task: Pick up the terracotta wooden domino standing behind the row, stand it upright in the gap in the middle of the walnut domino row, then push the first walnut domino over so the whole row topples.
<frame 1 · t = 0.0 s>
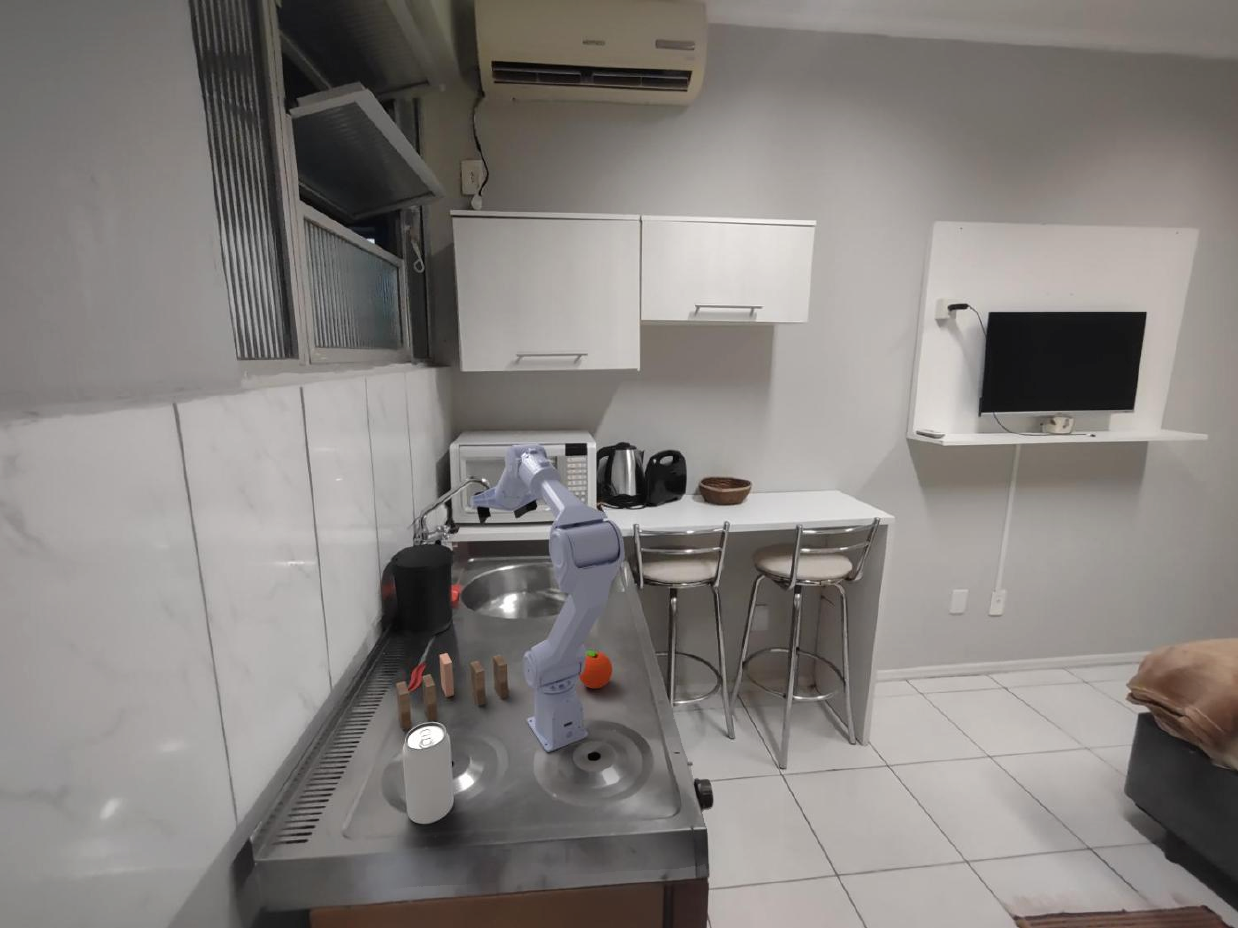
hand: (498, 516, 113), 32 cm above the counter, tool tilted 50°, fingers open, 7 cm apart
domino 4: (405, 722, 97), on the counter
clementine: (593, 685, 109), on the counter
cayenne pepper: (416, 680, 111), on the counter
domino 1: (501, 692, 106), on the counter
domino 2: (478, 699, 104), on the counter
can: (431, 808, 78), on the counter
domino 3: (430, 714, 99), on the counter
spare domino: (447, 690, 106), on the counter
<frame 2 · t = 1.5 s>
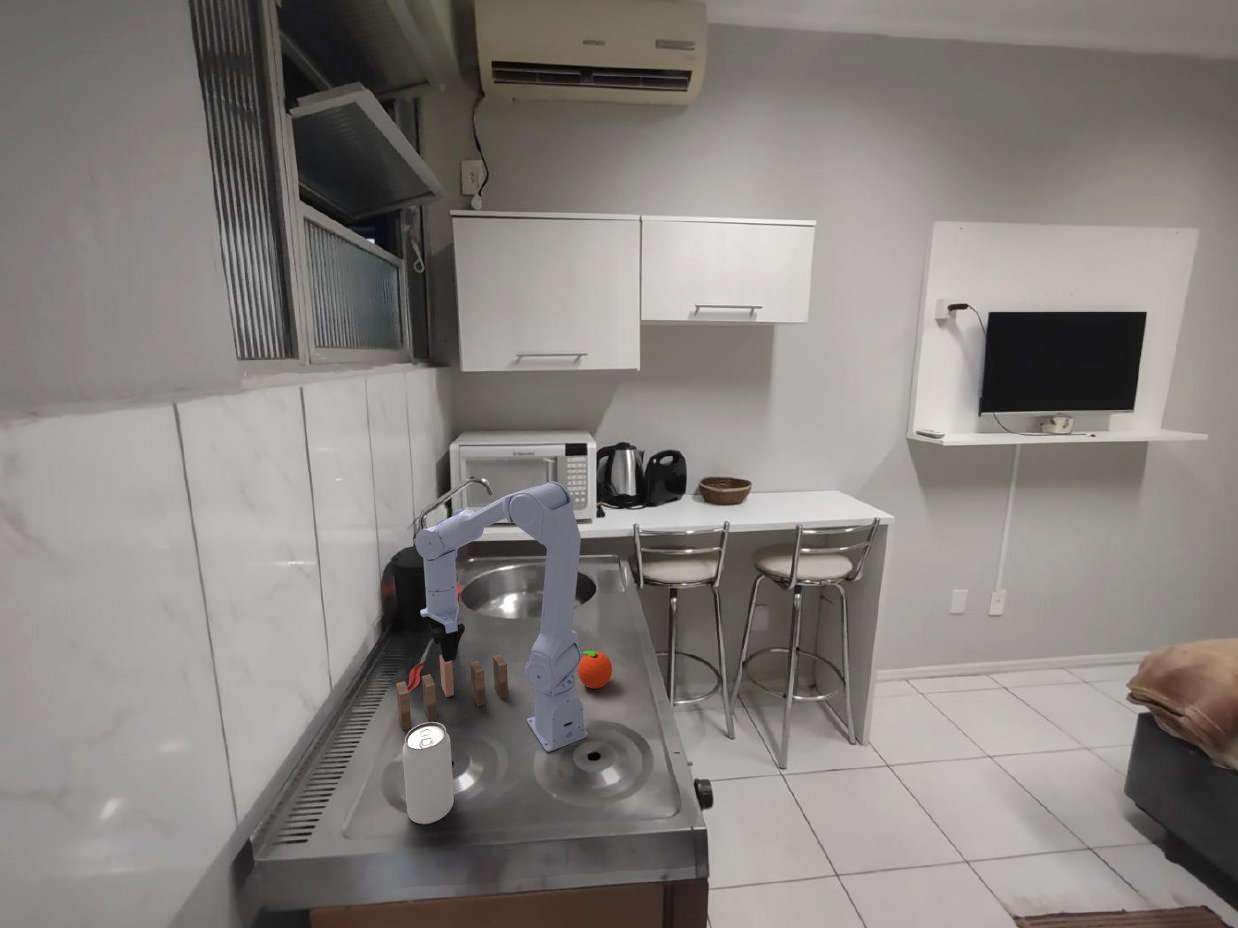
hand: (445, 650, 105), 9 cm above the counter, tool pointing down, fingers open, 7 cm apart
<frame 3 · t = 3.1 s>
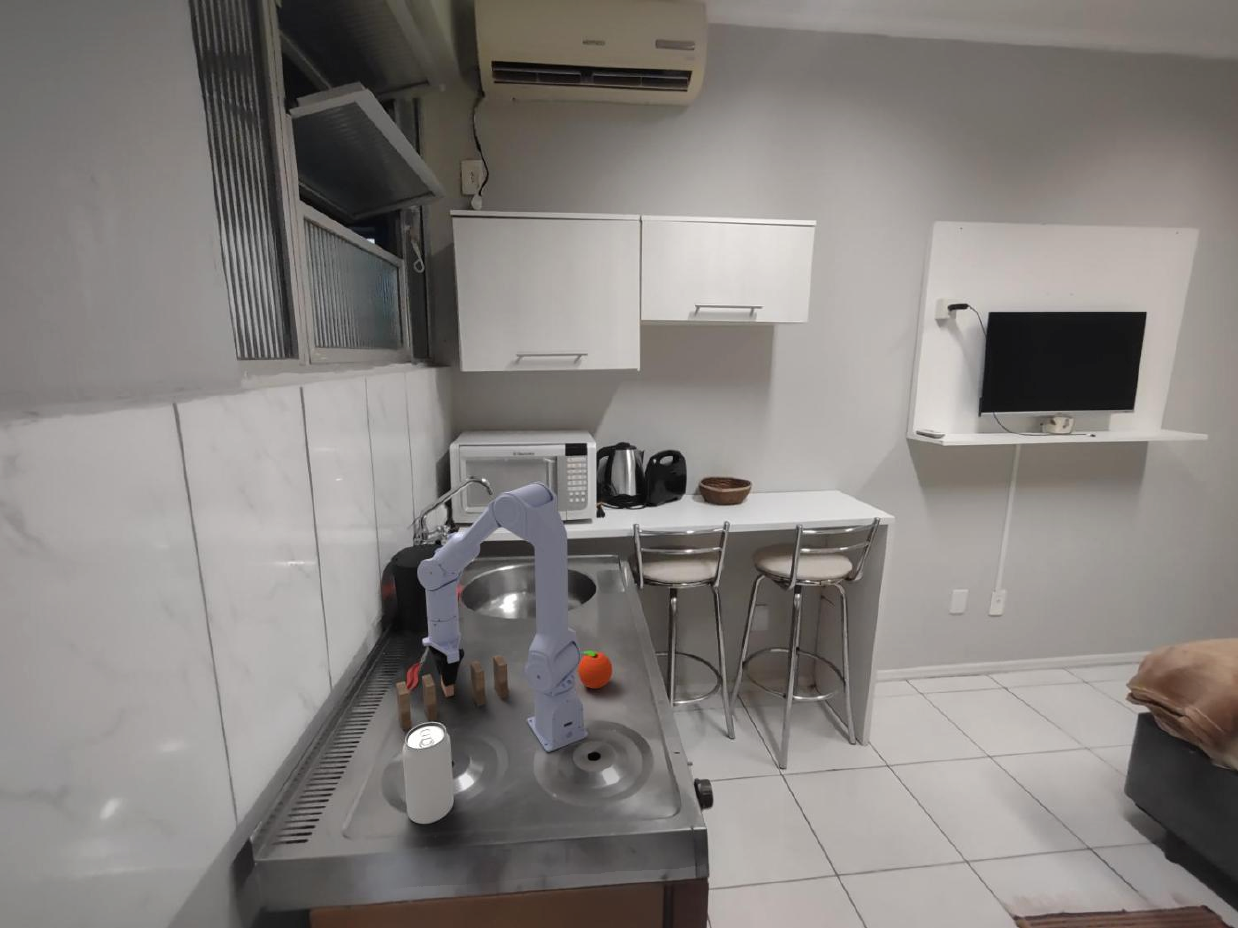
hand: (446, 678, 106), 3 cm above the counter, tool pointing down, fingers closed on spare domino, 4 cm apart
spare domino: (447, 690, 106), on the counter, touching gripper
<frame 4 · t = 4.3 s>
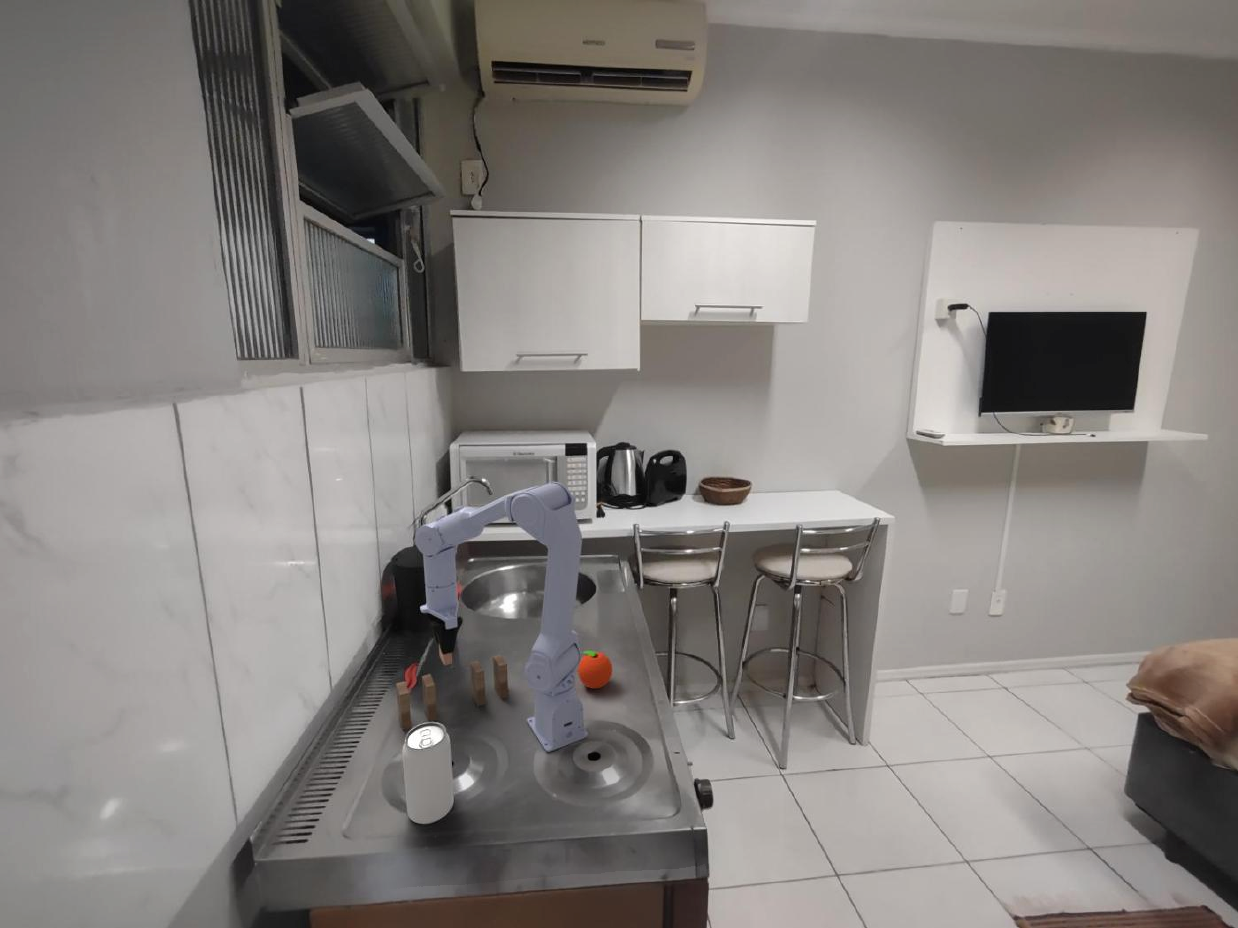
hand: (445, 647, 105), 9 cm above the counter, tool pointing down, fingers closed on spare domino, 4 cm apart
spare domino: (445, 659, 105), point 7 cm above the counter, touching gripper
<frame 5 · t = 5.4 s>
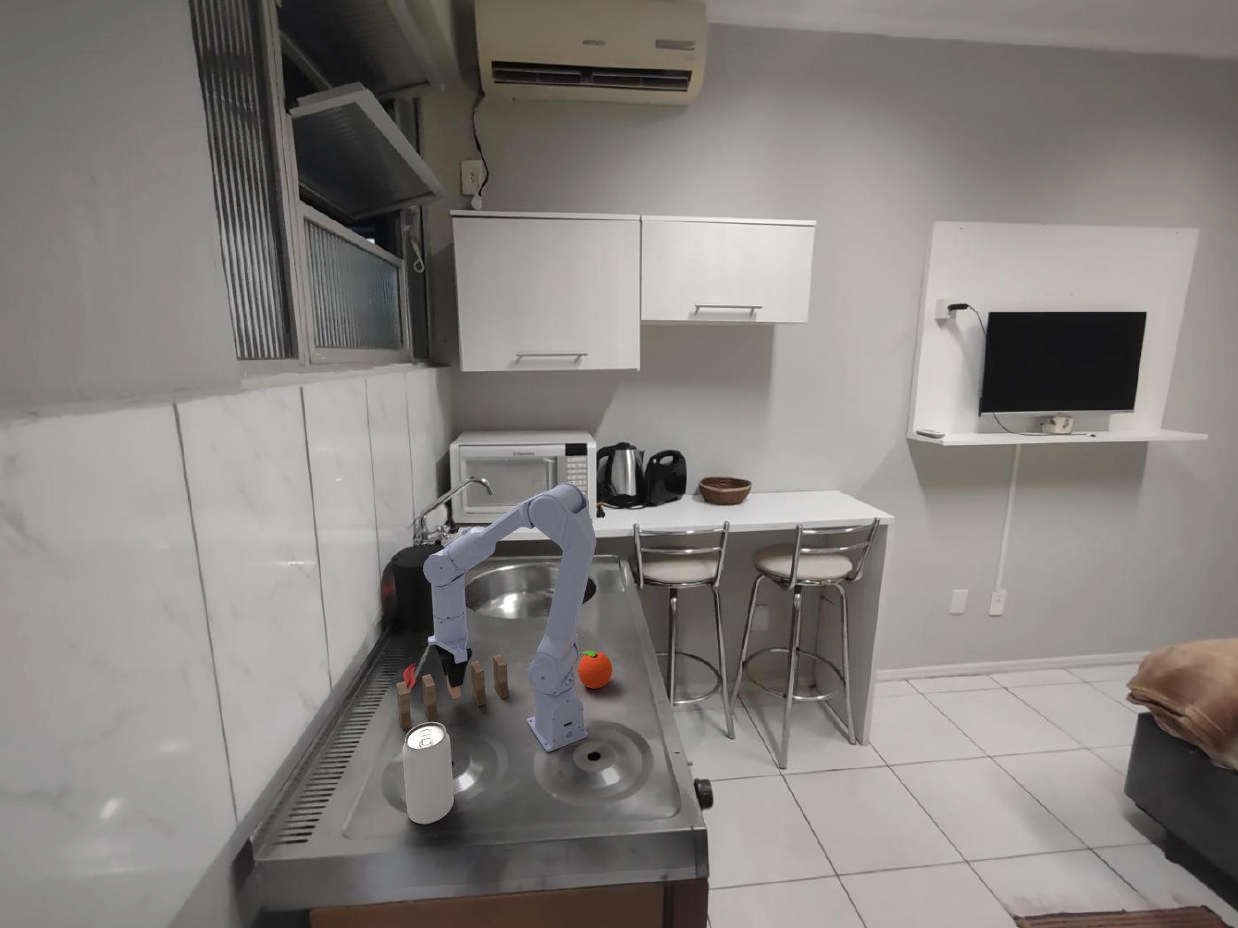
hand: (453, 679, 100), 6 cm above the counter, tool pointing down, fingers closed on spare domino, 4 cm apart
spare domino: (454, 692, 101), point 3 cm above the counter, touching gripper
when the fingers open (3 cm above the counter, at t = 6.3 s): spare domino stays where it is, on the counter.
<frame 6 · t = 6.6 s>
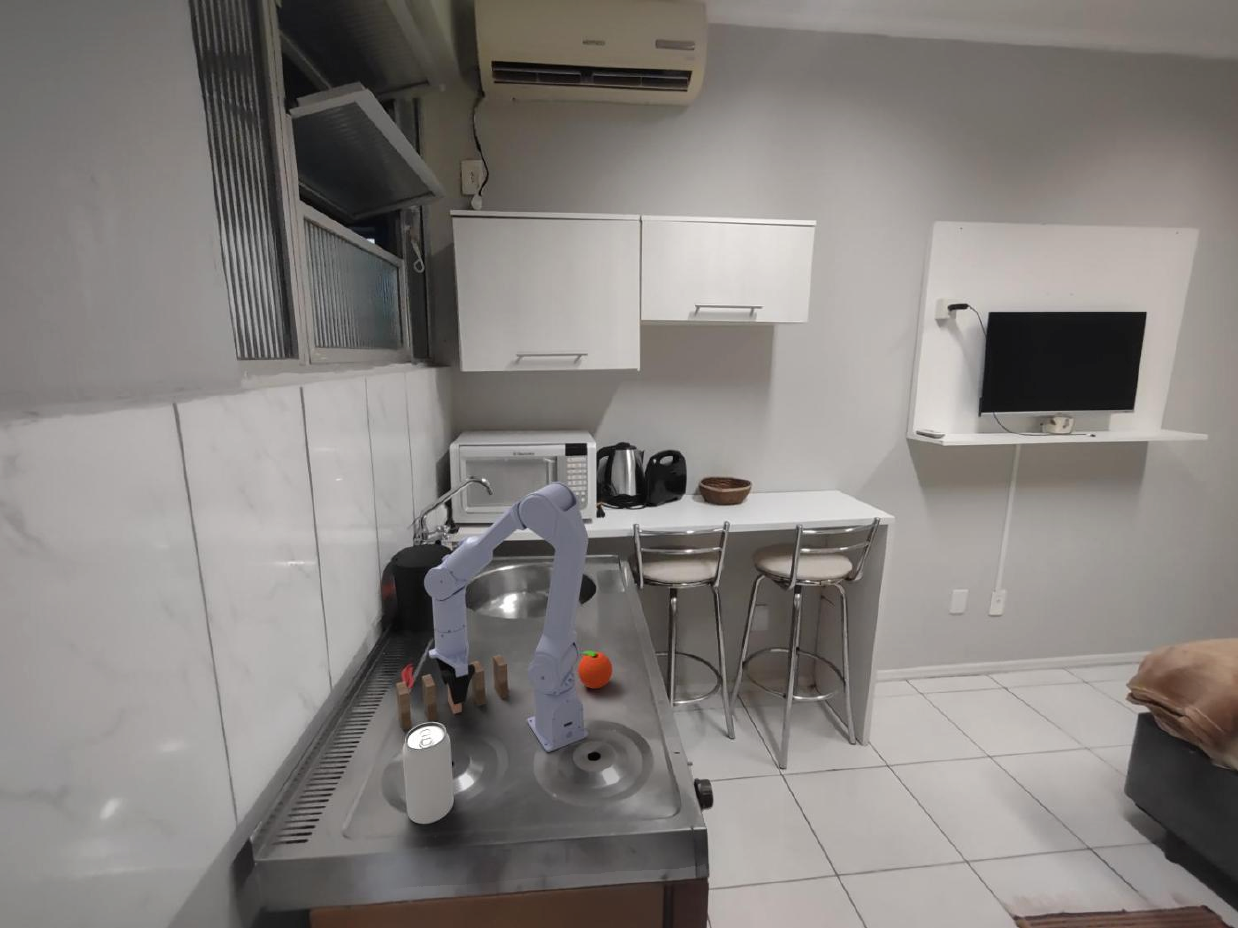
hand: (454, 691, 101), 3 cm above the counter, tool pointing down, fingers open, 7 cm apart
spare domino: (455, 706, 101), on the counter
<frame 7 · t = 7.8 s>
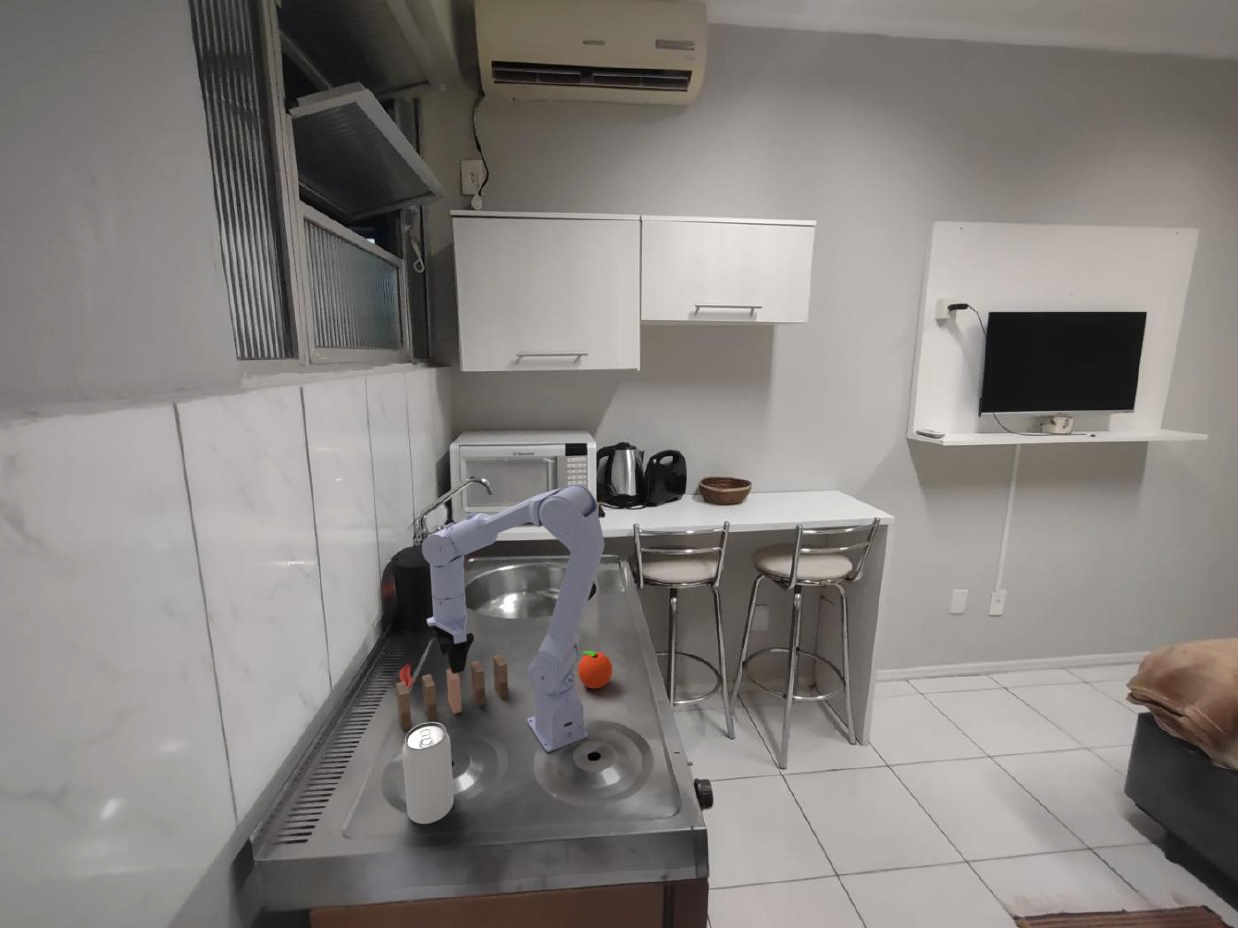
hand: (452, 661, 100), 9 cm above the counter, tool pointing down, fingers open, 7 cm apart
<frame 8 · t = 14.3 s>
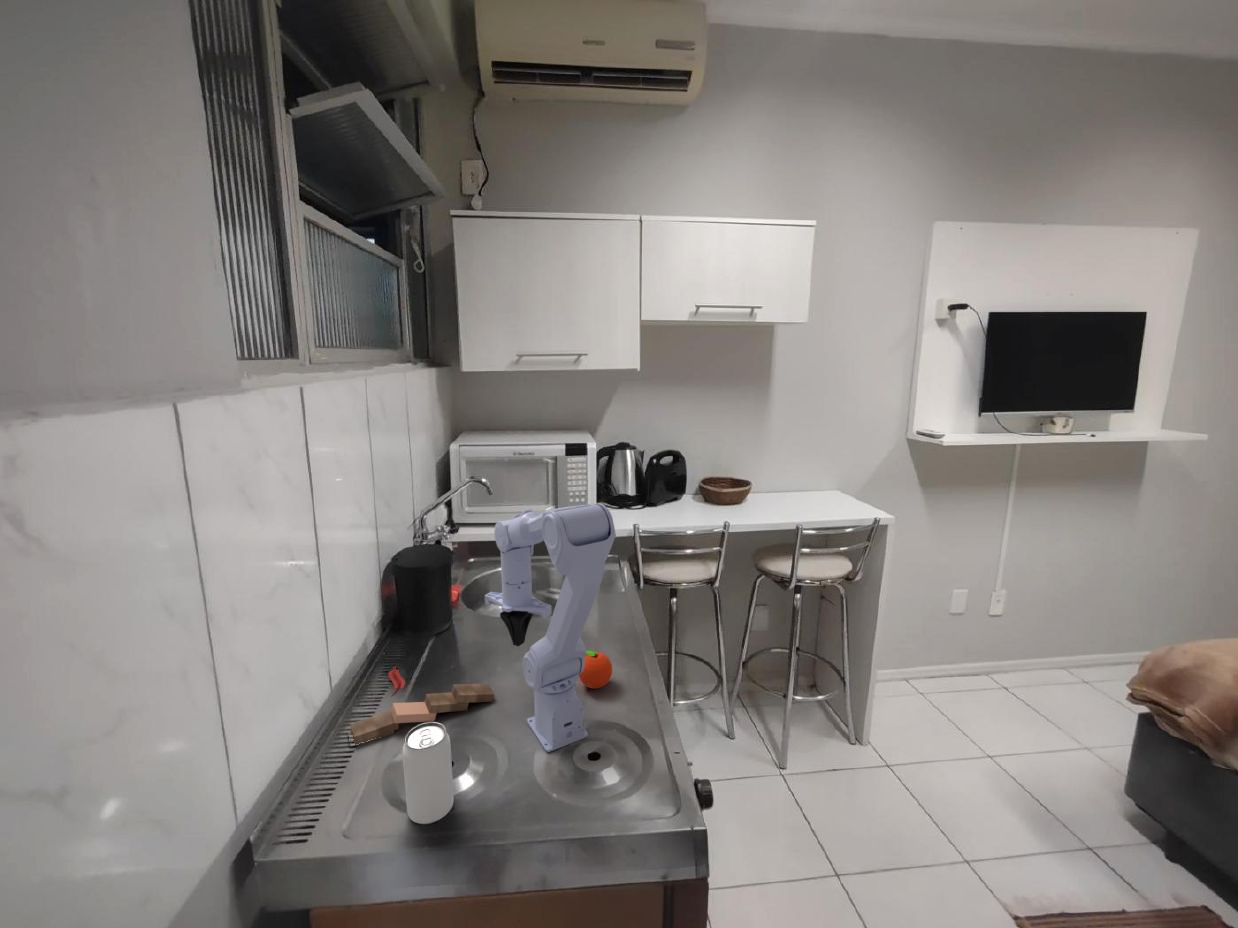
hand: (518, 643, 106), 9 cm above the counter, tool pointing down, fingers closed
domino 4: (392, 727, 96), on the counter, tilted 90°, touching domino 3
cayenne pepper: (396, 682, 110), on the counter
domino 1: (490, 692, 105), point 1 cm above the counter, tilted 73°, touching domino 2
domino 2: (464, 700, 102), point 1 cm above the counter, tilted 75°, touching domino 1, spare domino
domino 3: (395, 719, 96), point 1 cm above the counter, tilted 90°, touching domino 4, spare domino
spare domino: (432, 711, 99), point 1 cm above the counter, tilted 72°, touching domino 2, domino 3
everything else where it was.
at the end: domino 4 tilted 90°; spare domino tilted 72° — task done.
